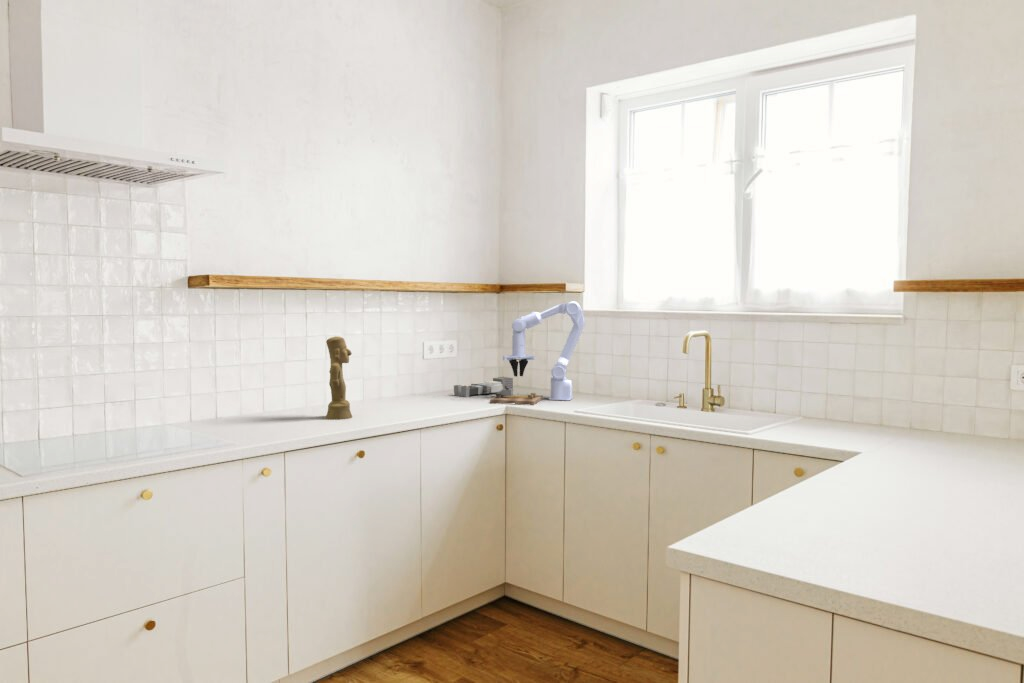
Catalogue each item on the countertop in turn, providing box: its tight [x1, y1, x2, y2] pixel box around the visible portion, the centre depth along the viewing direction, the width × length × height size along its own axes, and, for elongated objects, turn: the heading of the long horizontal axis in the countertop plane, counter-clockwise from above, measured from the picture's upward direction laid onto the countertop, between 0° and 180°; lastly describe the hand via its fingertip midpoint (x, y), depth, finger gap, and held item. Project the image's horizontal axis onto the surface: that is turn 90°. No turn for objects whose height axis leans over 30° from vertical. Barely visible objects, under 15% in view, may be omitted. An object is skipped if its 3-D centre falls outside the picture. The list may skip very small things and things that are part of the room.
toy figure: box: [453, 376, 514, 398], centre depth 347 cm, size 11×7×30 cm
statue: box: [325, 336, 353, 420], centre depth 273 cm, size 11×10×30 cm
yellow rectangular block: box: [506, 394, 528, 398], centre depth 322 cm, size 11×3×1 cm, turn 77°
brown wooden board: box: [489, 391, 544, 406], centre depth 322 cm, size 19×20×3 cm
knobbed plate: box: [501, 387, 514, 395], centre depth 322 cm, size 4×4×3 cm
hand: (518, 376), depth 331 cm, fingers open, 2 cm apart
